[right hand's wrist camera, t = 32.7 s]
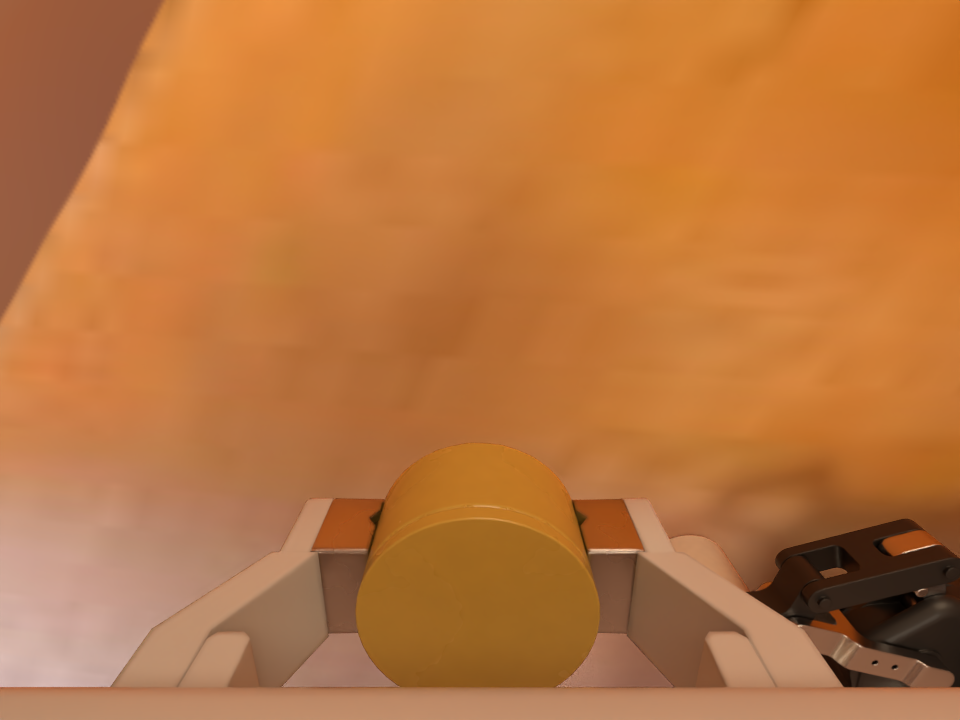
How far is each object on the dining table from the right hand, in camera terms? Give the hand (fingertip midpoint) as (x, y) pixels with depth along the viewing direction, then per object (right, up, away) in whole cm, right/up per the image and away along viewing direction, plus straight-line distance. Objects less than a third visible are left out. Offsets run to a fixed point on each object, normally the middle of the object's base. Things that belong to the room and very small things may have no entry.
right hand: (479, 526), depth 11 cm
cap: (0, -1, -2) cm, 2 cm away
